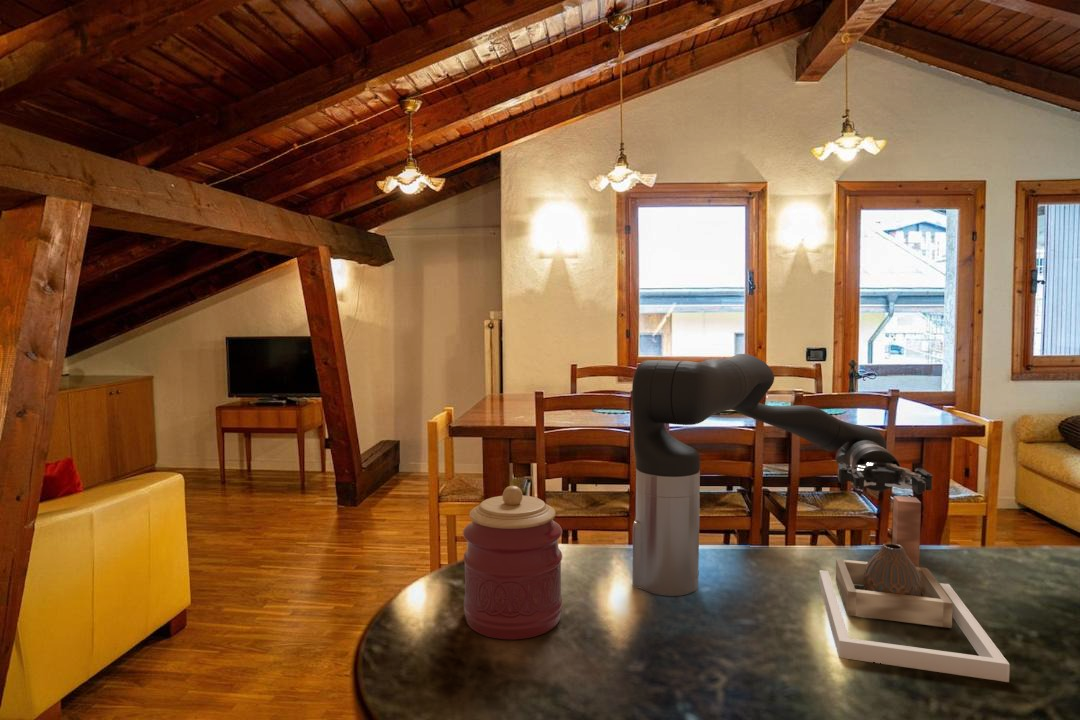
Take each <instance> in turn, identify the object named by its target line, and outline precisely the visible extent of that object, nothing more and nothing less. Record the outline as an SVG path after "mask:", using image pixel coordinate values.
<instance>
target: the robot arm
mask: <svg viewBox="0 0 1080 720" xmlns="http://www.w3.org/2000/svg"><path fill="white" fill-rule="evenodd" d="M774 374H775V373H774V372H773V370H772V369H771V367H770V366H769V365H768V363H766V362H765V361H764V360H762V359H760V358H758V357H756V356H754V355H751V354H746V353H738V354H735V355H733V356H731V357H728V358H711V359H710V358H709V359H706V360H702V361H700V362H698V361H697V362H696V361H691V360H665V359H664V360H662V359H660V360H659V359H657V360H656V359H648V360H646V359H645V360H643V361H642V362H640V363H639V364H638V366H637V367H636V369H635V372H634V375H633V378H632V386H631V387H632V388H631V402H632V403H631V405H632V419H633V420H632V421H633V422H632V423H633V449H634V454H635V519H634V521H633V523H632V583H631V585H632V587H633V588H638V589H642V590H643V591H645V592H649V593H651V594H654V595H660V596H672V597H675V596H684V595H688V594H692V593H694V592H696V590H697V589H698V588H699V576H700V570H699V567H700V565H699V563H700V562H699V560H700V552H699V551H700V498H701V497H700V491H701V487H700V486H701V485H700V483H701V481H700V480H701V478H700V477H701V471H700V470H701V467H700V466H701V458H700V457H701V456H700V453H699V452H698V450H696V449H695V448H694V447H692V446H689V445H687V444H686V443H684V442H682V441H680V440H678V439H677V438H676V437H674V436H673V435H672V434H671V433H669V432H668V430H667V429H666V427H665V424H667V425H668V424H669V425H681V426H693V425H698V424H701V423H703V422H704V421H706V420H707V419H708V418H710V417H711V416H712V415H715V414H719V413H723V412H726V411H730V410H733V411H735V412H736V413H738V414H741V415H743V416H745V417H748V418H751V419H753V420H757V421H759V422H761V423H764V424H767V425H770V426H773V427H775V428H778V429H781V430H783V431H786V432H789V433H791V434H793V435H796V436H798V437H800V438H802V439H803V440H805V441H807V442H809V443H811V444H813V445H815V446H816V447H818V448H820V449H822V450H824V451H826V452H835V451H837V452H836V454H835V461H836V463H837V480H838V482H839V483H840V484H842V485H843V484H847V482H850V485H852V486H853V487H854V486H855V487H857V489H859V490H864V489H865V488H866V489H868V490H871V491H874V492H875V491H876V492H883V491H887V490H889V489H892V488H893V487H895V488H898V489H901V490H906V489H907V490H908V489H912V491H913V492H915V494H917V495H918V494H919V495H922V494H923V492H926V491H932V490H933V476H934V475H933V474H932V473H930V472H929V471H927V470H926V469H923V468H922V467H917V468H915V469H914V472H913V471H912V470H911V469H909V468H906V467H902V466H901V464H900V463H899V461H898V459H897V458H896V457H895V456H894V455H893V454H892V453H891V452H890V451H888V450H887V449H886V446H887V442H886V439H885V436H884V435H883V434H882V433H880V432H879V431H878V430H876V429H874V428H871V427H869V426H866V425H861V424H855V423H849V422H846V421H843V420H841V419H839V418H837V417H835V416H833V415H832V414H830V413H828V412H826V411H825V410H823V409H821V408H819V407H815V406H811V405H804V404H803V405H768V404H764V403H762V402H761V401H762V400H763V398H764V397H765V395H766V394H767V393H768V392H769V390H770V389H771V388H772V386H773V384H774V382H775V375H774ZM760 402H761V403H760ZM911 481H912V482H911Z"/></svg>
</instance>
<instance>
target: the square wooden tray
mask: <svg viewBox="0 0 1080 720" xmlns="http://www.w3.org/2000/svg"><path fill="white" fill-rule="evenodd" d="M892 508H893V509H892V510H893V511H892V536H891V537H892V538H891V539H892V540H891V541H892V543H893V544H898V545H900V546H902V547H903V548H904V551H905V553H906V555H907V556H908V558H909V559H910V560H911V561H912V563H913V564H914V565H915V567H916V569H917V570H918V573H919V575H920V579H921V585H922V589H921V597H919V596H911V595H900V594H893V593H884V592H876V591H867V590H864V589H856V588H855V585H857V586H858V585H859V586H864V585H863V575H864V571H865V568H866V565H867V563H868V562H869V561H862V560H861V561H860V560H852V559H842V558H835V583H836V585H837V588H838V592H839V594H840V597H841V600H842V603H843V606H844V609H845V612H846V615H847V616H852V617H853V616H855V617H860V618H861V617H862V618H869V619H877V620H885V621H891V622H892V621H894V622H902V623H908V624H916V625H924V626H925V625H926V626H932V627H941V628H949V629H952V628H953V617H952V611H953V603H952V602H951V600H950V599H949V597H948V596H947V595H946V593H945V592H944V590H943V589H942V588H941V586H940V585H939V582H938V580H937V579H936V578H935V577H934V575H933V574H932V573H931V571H930V570H929V568H928V567H920V548H921V547H920V545H921V541H920V540H921V518H922V517H921V515H922V502H921V501H920V500H919V498H917V497H915V496H902V495H893V507H892Z"/></svg>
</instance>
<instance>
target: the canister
mask: <svg viewBox="0 0 1080 720" xmlns="http://www.w3.org/2000/svg"><path fill="white" fill-rule="evenodd" d="M556 513H557V512H556V510H555V508H553V507H552V506H551V505H549V504H547V503H545V501H544V500H542V499H540V498H538V497H536V496H532V495H531V496H529V495H524V494H523V491H522V489H521V488H520V487H518V486H517V485H509V486H507V487H506V488H504V490H503V493H502V495H498V496H492V497H490V498H486V499H484V500H483V501H481V502H480V504H478V505H477V506H475V507H474V508H472V509H471V510H470V511H469V518H470V520H471V521H470V522H469V523H468V524H467V525H466V526H465V527H464V528H463V531H462V536H463V538H464V539H465V541H466V543H467V544H466V546H467V547H466V550H465V552H464V553H463V559H462V560H463V562H464V599H463V612H464V616H465V621H466V624H467V625H468V626H469V628H470V629H472V630H473V631H474V632H476V633H477V634H480V635H483V636H485V637H488V638H491V639H492V638H493V639H500V640H523V639H528V638H533V637H537V636H540V635H543V634H546V633H548V632H550V631H551V630H552V629H554V628H555V627H556V626H557V625H558V623H559V622H560V620H561V613H562V611H563V610H562V609H563V597H562V579H561V578H562V559H563V552H562V551H561V549H560V548H559V539H560V538H561V536H562V534H563V529H562V527H561V526H560V524H559V523H558V522H556V521H554V519H555V517H556Z"/></svg>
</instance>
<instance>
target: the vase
mask: <svg viewBox="0 0 1080 720" xmlns="http://www.w3.org/2000/svg"><path fill="white" fill-rule="evenodd" d="M867 562H868V563H867V565H866V568H865V571H864V575H863V585H862V586H863V590H867V591H876V592H884V593H893V594H900V595H911V596H919V597H922V593H921V589H922V585H921V579H920V575H919V573H918V570H917V569H916V567H915V565H914V564H913V563H912V561H911V560H910V559H909V558H908V556H907V555H906V553H905V551H904V548H903V547H902V546H900V545H898V544H893V543H891V542H885V543H883V544H882V546H881V548H880V549H879V551H878V552H876V554H874V555H873V556H872V557H871V558H870V559H869V561H867Z"/></svg>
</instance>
